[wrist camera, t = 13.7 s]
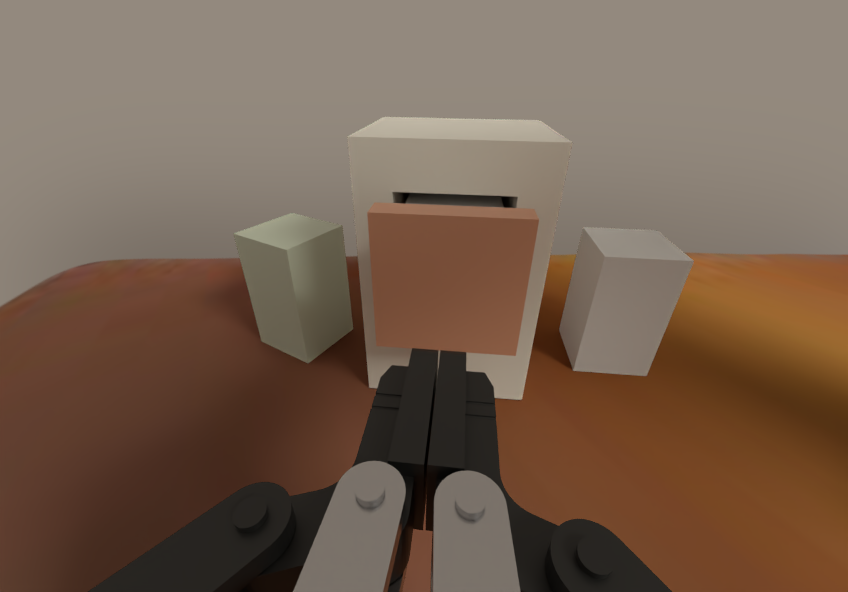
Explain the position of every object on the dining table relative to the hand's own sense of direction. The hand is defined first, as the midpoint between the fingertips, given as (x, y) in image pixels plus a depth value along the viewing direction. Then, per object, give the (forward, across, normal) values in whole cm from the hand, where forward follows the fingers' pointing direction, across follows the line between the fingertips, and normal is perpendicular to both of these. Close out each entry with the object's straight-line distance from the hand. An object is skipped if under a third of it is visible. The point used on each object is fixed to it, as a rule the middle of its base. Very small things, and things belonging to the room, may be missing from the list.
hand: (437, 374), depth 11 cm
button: (+9, 0, +3) cm, 10 cm away
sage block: (+13, +10, +9) cm, 19 cm away
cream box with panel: (+12, 0, +9) cm, 15 cm away
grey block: (+14, -10, +9) cm, 19 cm away
